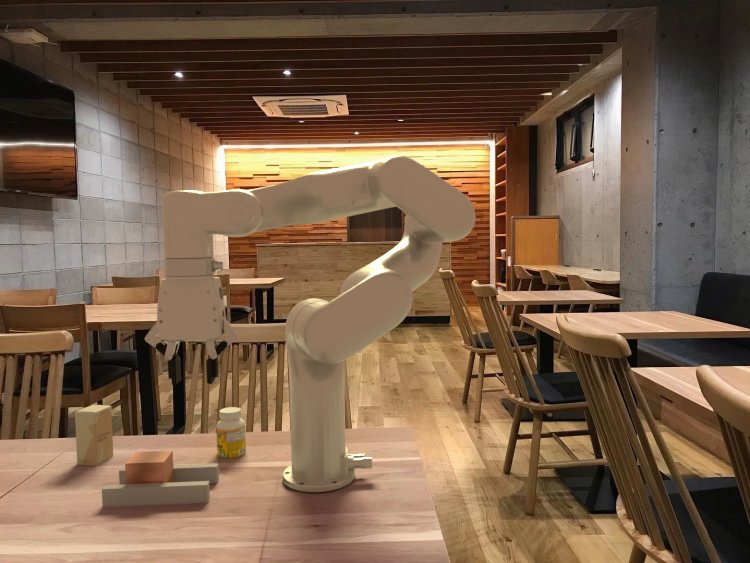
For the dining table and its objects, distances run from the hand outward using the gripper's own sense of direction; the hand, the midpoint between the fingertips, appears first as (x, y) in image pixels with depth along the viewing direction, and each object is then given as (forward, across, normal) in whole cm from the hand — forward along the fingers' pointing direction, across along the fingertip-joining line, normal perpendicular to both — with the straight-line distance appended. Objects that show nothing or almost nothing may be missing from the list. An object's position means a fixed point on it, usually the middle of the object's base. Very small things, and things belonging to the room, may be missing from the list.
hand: (193, 381), depth 95 cm
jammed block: (+18, +8, 0) cm, 20 cm away
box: (+20, +22, -16) cm, 34 cm away
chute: (+19, +10, 0) cm, 22 cm away
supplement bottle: (+20, -2, -17) cm, 26 cm away
